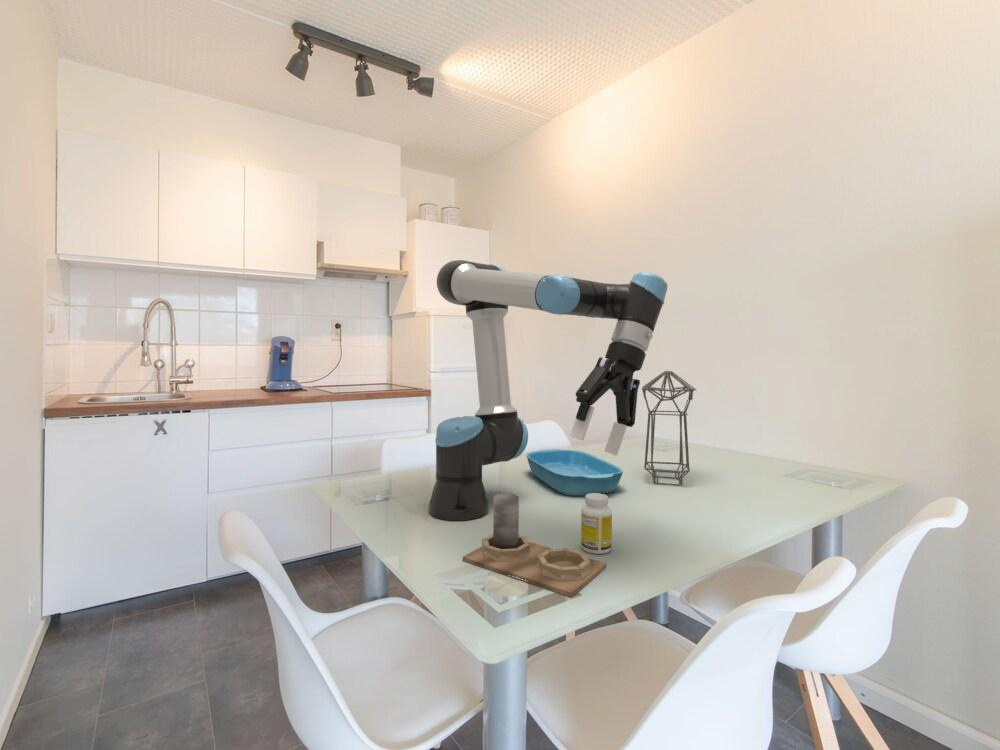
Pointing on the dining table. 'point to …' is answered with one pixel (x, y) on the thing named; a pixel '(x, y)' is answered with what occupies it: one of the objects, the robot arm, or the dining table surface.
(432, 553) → the dining table surface
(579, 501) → the dining table surface
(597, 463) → the casserole dish
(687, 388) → the geometric lantern
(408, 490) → the dining table surface
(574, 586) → the socket board
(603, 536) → the pill bottle
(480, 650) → the dining table surface
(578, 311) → the robot arm
